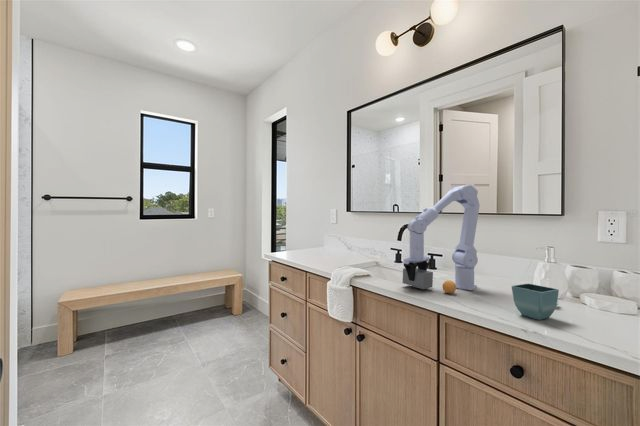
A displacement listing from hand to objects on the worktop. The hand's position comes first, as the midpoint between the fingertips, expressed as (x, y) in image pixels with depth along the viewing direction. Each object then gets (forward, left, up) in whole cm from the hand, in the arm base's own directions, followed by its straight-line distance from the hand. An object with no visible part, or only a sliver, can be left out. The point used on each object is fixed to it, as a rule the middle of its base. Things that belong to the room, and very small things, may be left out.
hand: (416, 279), depth 120 cm
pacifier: (-4, +43, -4) cm, 43 cm away
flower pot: (+12, +40, -4) cm, 42 cm away
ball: (0, +13, -1) cm, 13 cm away
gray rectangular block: (0, 0, -2) cm, 2 cm away
